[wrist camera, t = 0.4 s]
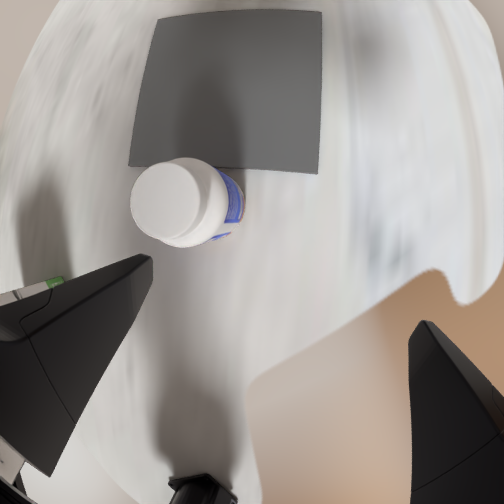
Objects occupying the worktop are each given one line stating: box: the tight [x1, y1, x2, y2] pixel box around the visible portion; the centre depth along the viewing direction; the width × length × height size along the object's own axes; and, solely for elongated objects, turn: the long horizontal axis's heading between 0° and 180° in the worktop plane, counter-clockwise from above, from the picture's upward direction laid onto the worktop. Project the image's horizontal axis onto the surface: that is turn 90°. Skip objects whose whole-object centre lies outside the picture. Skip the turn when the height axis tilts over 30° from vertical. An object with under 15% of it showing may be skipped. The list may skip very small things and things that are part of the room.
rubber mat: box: [128, 10, 322, 174], centre depth 23 cm, size 16×16×1 cm
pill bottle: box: [130, 158, 245, 248], centre depth 19 cm, size 5×5×10 cm
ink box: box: [0, 276, 64, 306], centre depth 22 cm, size 9×5×12 cm, turn 118°
